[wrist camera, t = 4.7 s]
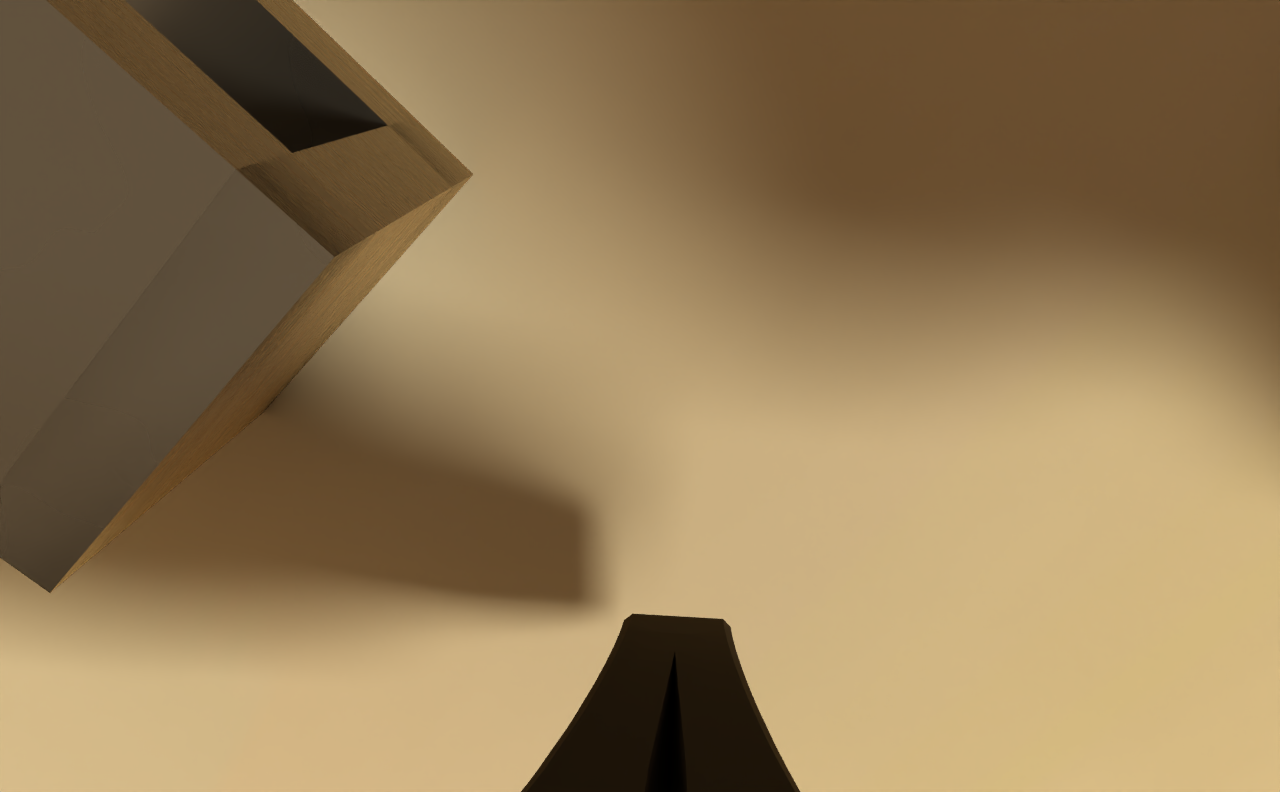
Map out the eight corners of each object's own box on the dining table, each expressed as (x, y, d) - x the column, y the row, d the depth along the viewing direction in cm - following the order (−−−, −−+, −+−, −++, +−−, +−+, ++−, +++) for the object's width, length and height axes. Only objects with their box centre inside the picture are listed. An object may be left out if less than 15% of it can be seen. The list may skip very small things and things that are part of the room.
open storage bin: (473, 173, 11) (335, 257, 7) (263, 412, 13) (50, 592, 9) (154, -134, 10) (-233, -247, 6) (-33, 171, 12) (-439, 247, 8)
